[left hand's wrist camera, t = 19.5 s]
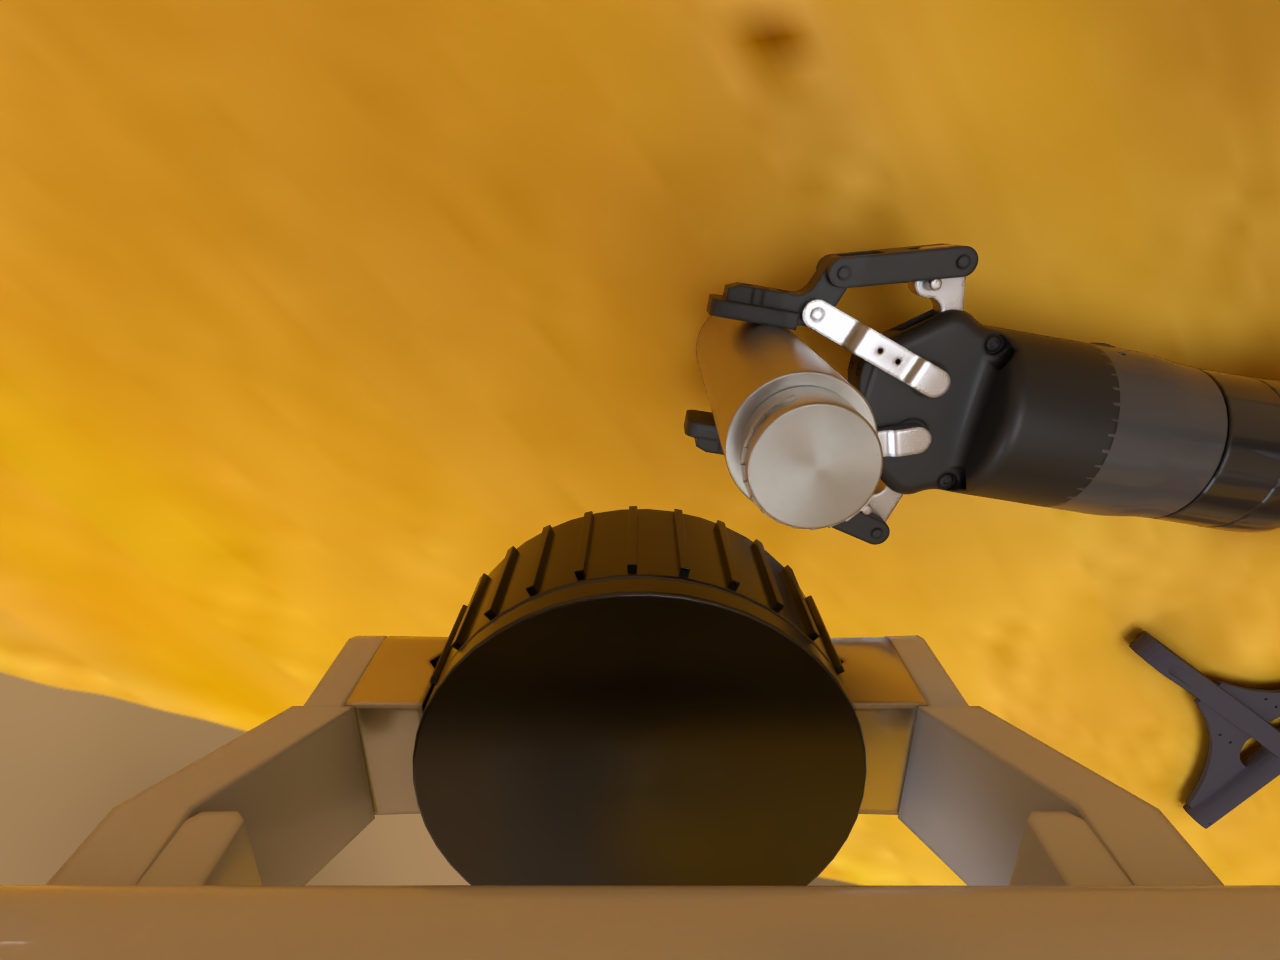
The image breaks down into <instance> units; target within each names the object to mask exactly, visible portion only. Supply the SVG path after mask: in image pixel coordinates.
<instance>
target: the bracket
mask: <svg viewBox="0 0 1280 960" xmlns="http://www.w3.org/2000/svg"><path fill="white" fill-rule="evenodd" d="M1129 647H1130V648H1131V649H1132V650H1134V651H1135V652H1136V653H1137V654H1138V655H1139V656H1140V657H1142V658H1143V659H1144V660H1145V661H1146V662H1148V663H1149V664H1150V665H1151V666H1153V667H1154V668H1155V669H1156V670H1158V671H1159V672H1160V673H1161V674H1163V675H1164V676H1166V677H1167V678H1168V679H1170V680H1172V681H1173V682H1175V683H1176V684H1178V685H1179V686H1181V687H1182V688H1184V689H1185V690H1187V691H1188V692H1190V693H1191V694H1193V695H1194V696H1196V697H1197V698H1196V699H1195V702H1196V704H1197V706H1198V707H1199V709H1200V711H1201V713H1202V715H1203V716H1204V719H1205V722H1206V725H1207V729H1208V733H1209V738H1210V740H1209V749H1208V755H1207V760H1206V764H1205V767H1204V770H1203V772H1202V775H1201V777H1200V779H1199V781H1198V783H1197V785H1196V786H1195V788H1194V790H1193V791H1192V793H1191V795H1190V796H1189V798H1188V799H1187V801H1186V802H1187V804H1186V805H1184V806H1183V808H1184V809H1185V811H1186V812H1187V813H1188V814H1189V815H1190V816H1191V817H1192V818H1193V819H1194V820H1195V821H1196V822H1198V823H1199V824H1200V825H1201V826H1202V827H1204V828H1206V829H1207V828H1208V827H1210V826H1211V825H1212V824H1214V823H1215V822H1216V821H1218V820H1219V819H1220V818H1222V817H1223V816H1224V815H1226V814H1227V813H1228V812H1230V811H1231V810H1233V809H1234V808H1235V807H1237V806H1238V805H1239V804H1241V803H1242V802H1243V801H1245V800H1246V799H1247V798H1249V797H1250V796H1251V795H1253V794H1254V793H1255V792H1257V791H1258V790H1260V789H1261V788H1262V787H1264V786H1265V785H1266V784H1268V783H1269V782H1270V781H1272V780H1273V779H1274V778H1276V777H1277V776H1278V775H1280V729H1278V728H1276V727H1274V726H1273V725H1271V724H1270V722H1271V721H1272V720H1274V719H1276V718H1278V717H1280V689H1277V690H1263V689H1253V688H1246V687H1241V686H1237V685H1233V684H1230V683H1227V682H1223V681H1220V680H1218V681H1217V682H1213V681H1212V680H1210V679H1209V678H1208V677H1206V676H1205V675H1204V674H1202V673H1201V672H1200V671H1198V670H1197V669H1196V668H1194V667H1193V666H1192V665H1190V664H1189V663H1187V662H1186V661H1185V660H1183V659H1182V658H1181V657H1179V656H1178V655H1177V654H1175V653H1174V652H1173V651H1171V650H1170V649H1169V648H1167V647H1166V646H1165V645H1163V644H1162V643H1161V642H1159V641H1158V640H1156V639H1155V638H1154V637H1152V636H1151V635H1150V634H1148V633H1147V632H1145V631H1144V632H1143V633H1142V634H1141V635H1140V636H1138V637H1137V638H1136V639H1135V640H1134V641H1133V642H1132V643H1130V644H1129ZM1250 737H1252V738H1254V739H1255V740H1256V741H1258V742H1259V743H1260V744H1261V747H1260V748H1259V749H1258V750H1256V751H1255V752H1254V753H1253V754H1251V755H1250V756H1249V757H1247V758H1246V759H1245V760H1243V761H1242V762H1241V760H1240V751H1241V748H1242V746H1243V745H1244V743H1245V742H1246V741H1247V740H1248V739H1249V738H1250Z"/></svg>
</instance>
